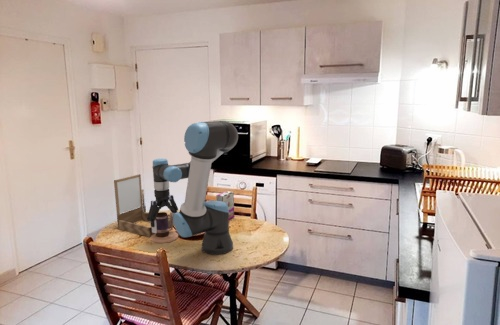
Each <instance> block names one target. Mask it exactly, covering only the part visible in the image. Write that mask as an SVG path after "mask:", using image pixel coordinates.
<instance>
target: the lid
mask: <svg viewBox="0 0 500 325" xmlns="http://www.w3.org/2000/svg"><path fill="white" fill-rule="evenodd" d="M141 176H142V175H141V174H135V175H131V176H130V175H129V176H127V177H123V178H119V179H115V180H113V184H114V197H115V210H116V216H117V215H120V214H122V213H125V212H127V211H130V210H133V209H136V208H139V207H143V200H142V177H141Z"/></svg>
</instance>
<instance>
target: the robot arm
mask: <svg viewBox="0 0 500 325" xmlns="http://www.w3.org/2000/svg"><path fill="white" fill-rule="evenodd" d="M183 138H184V139H183V140H184V148H186V150H187V152H188V153H187V154H189V155H190V157H191V158H190V162H184V163H177V164H172V165H171V164H169V160H168V159H167V158H156V159H153V160H152V167H151V168H152V174H153V175H152V177H153V189H154V191H153V193H154V194H153V195H154V198H155V200H151V201H150V207H149V210H148V212H147V213H148V217H147V220H149V221H151V222H150V227H152V232H153V233H157V225H156V220H155V219H156V217H157V215H158V213H160V210H161V209H162V208H164V207H167V209H169V211H170V213H169V214H171V215H172V217H173V225H174V226H175V227H174V228H175V231H176V233H178V236H180V237H181V238H190V237H193V236H197V235H200V234H203V233H204V235H203V239H202V241H201V250H202V252H203V253H205V254H209V255H222V254H226V253H229V252H231V251H232V250H233V249H234V242H233V239H232V237H231V234H230V220H229V210H228V205H227V204H226V203H224V202H221V201H217V200H206V197H207V190H208V185H209V179H210V173H211V168H212V163H214V161H216V160H217V159H218V158H219V157H220V156H221V155H223V154H224V153H228V152H230V151H231V150H232V149H233V148H234V147H235V146H236V145H237V143H238V140H239V132H238V130H237V128H236V127H235V125H234V124H233V123H231V122H229V121H226V120H219V121H199V122H194V123H191V124H190V125H189V126H187V128H186V130H185V133H184V137H183ZM184 179H187V184H186V192H185V197H184V202H183V203H181V205H180V208H178V205H177V203H176V201H175V199H174V194H170V183H177V182H178V181H180V180H184ZM149 221H148V222H149Z"/></svg>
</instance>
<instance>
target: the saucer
mask: <svg viewBox="0 0 500 325" xmlns="http://www.w3.org/2000/svg"><path fill="white" fill-rule="evenodd" d="M178 238H179V234H178V232H177V231H173V230H171V231H169V235H168V236H166V237H157V236H156V233H155V234H153V235H152V236H151V237H150V241H151V242H152V243H155V244H167V243H171V242H174V241H177V240H178Z"/></svg>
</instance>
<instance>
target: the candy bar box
mask: <svg viewBox="0 0 500 325" xmlns="http://www.w3.org/2000/svg"><path fill="white" fill-rule="evenodd" d="M234 195H235V194H234V191H230V190H226V191H223V192H220V193H219V194H216V201H221V202H224V203H226V204H227V205H228V210H229V221H230V220H232V219H234V218H235V200H234Z"/></svg>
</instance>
